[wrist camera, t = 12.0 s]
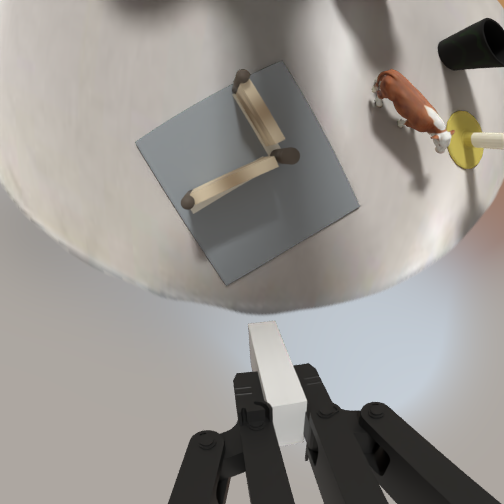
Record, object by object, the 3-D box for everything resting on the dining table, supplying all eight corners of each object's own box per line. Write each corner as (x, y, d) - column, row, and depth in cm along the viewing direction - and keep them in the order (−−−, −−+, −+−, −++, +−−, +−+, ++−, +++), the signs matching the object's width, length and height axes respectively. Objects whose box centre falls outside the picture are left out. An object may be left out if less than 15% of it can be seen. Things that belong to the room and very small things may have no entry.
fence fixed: (228, 88, 34) (232, 72, 28) (241, 81, 34) (247, 65, 28) (274, 166, 38) (288, 167, 31) (286, 159, 38) (303, 159, 31)
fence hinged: (264, 155, 37) (275, 155, 31) (268, 166, 37) (280, 167, 31) (183, 192, 37) (178, 199, 31) (188, 203, 38) (184, 212, 31)
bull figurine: (415, 156, 40) (450, 159, 33) (356, 86, 37) (386, 74, 29) (429, 138, 40) (465, 138, 32) (373, 69, 36) (404, 55, 28)
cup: (470, 72, 37) (519, 63, 26) (445, 80, 37) (497, 70, 26) (452, 32, 35) (499, 17, 23) (426, 37, 35) (474, 18, 23)
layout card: (135, 142, 35) (134, 142, 35) (281, 61, 35) (282, 60, 34) (226, 284, 42) (226, 286, 42) (358, 205, 41) (360, 206, 41)
